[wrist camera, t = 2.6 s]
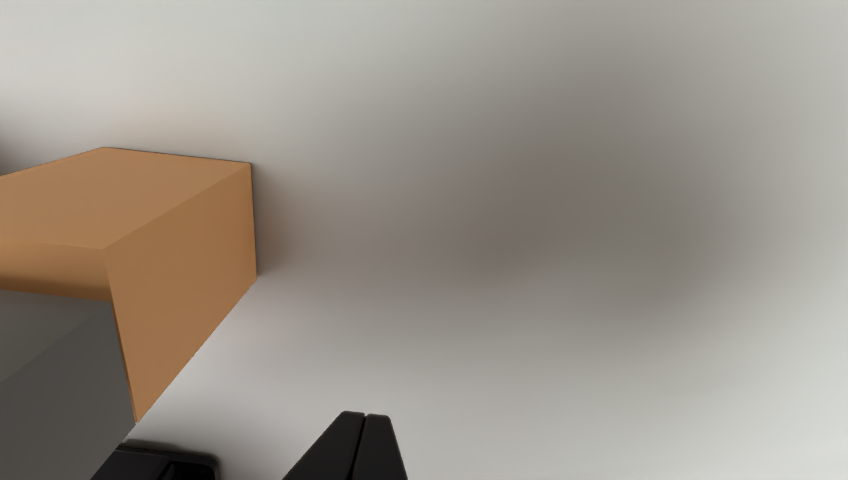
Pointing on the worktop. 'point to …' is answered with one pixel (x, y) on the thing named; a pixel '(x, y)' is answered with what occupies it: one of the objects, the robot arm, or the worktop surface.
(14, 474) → the dark gray block
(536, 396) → the worktop surface
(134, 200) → the orange brown block
